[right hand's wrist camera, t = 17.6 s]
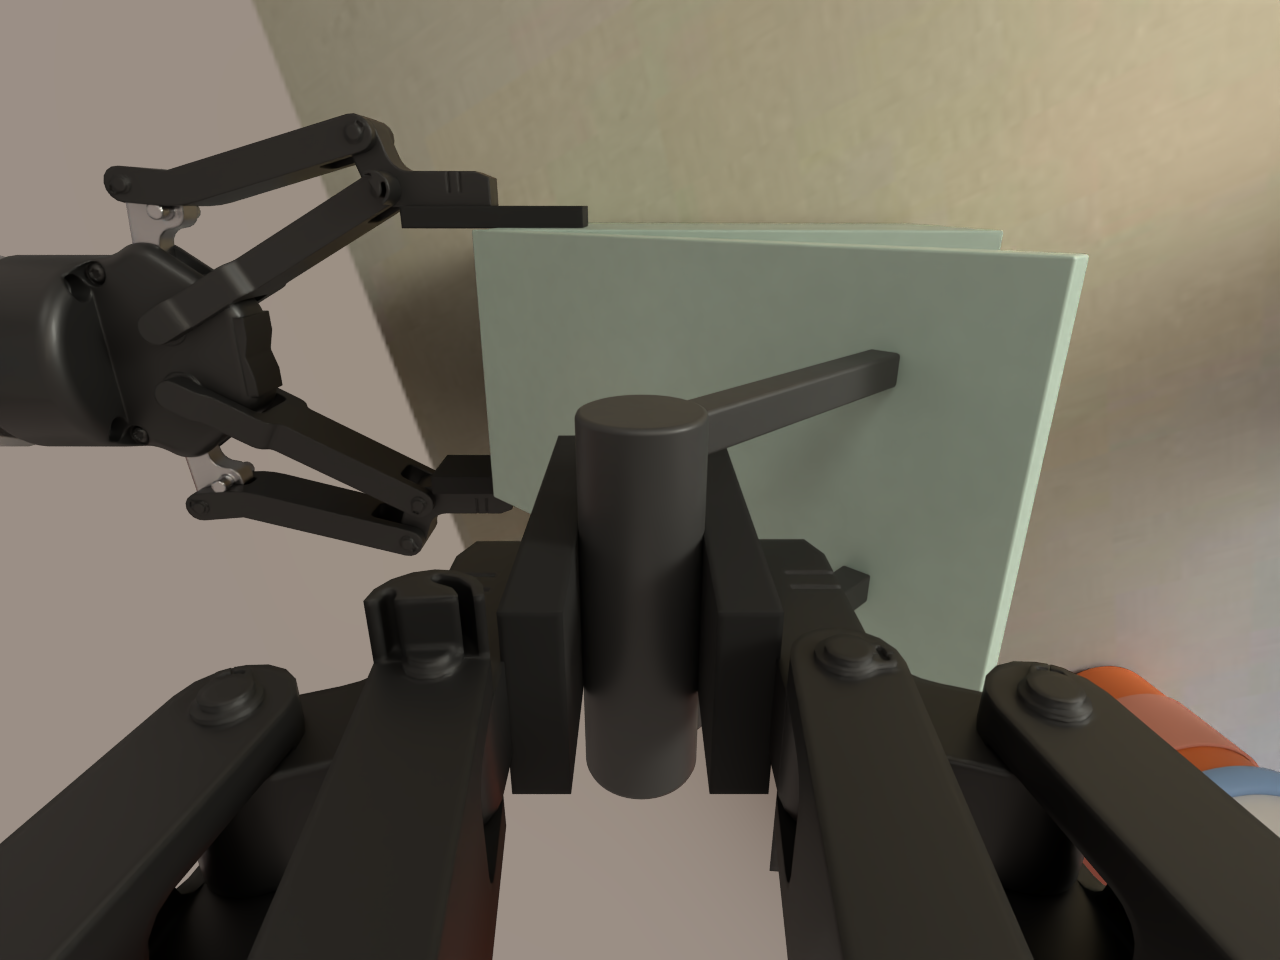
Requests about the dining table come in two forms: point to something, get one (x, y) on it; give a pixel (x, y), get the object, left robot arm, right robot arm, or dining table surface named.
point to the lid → (772, 440)
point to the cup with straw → (1196, 742)
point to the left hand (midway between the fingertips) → (588, 354)
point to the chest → (807, 233)
